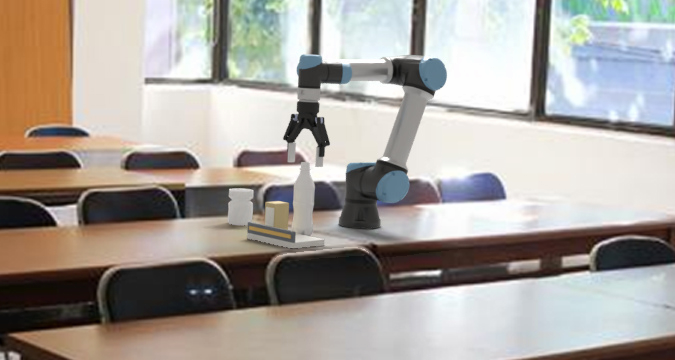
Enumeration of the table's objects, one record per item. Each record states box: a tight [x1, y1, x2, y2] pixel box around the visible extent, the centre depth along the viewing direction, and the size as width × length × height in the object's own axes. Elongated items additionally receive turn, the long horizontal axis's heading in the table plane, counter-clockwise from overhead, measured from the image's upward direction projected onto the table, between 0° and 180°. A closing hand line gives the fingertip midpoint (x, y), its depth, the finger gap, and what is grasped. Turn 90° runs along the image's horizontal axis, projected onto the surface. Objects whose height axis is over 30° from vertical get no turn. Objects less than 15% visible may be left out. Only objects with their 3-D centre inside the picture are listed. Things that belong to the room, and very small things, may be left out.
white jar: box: [227, 187, 255, 227], centre depth 454 cm, size 9×9×12 cm
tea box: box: [263, 200, 290, 230], centre depth 426 cm, size 6×5×10 cm
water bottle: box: [291, 161, 316, 236], centre depth 432 cm, size 7×7×25 cm
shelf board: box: [246, 221, 325, 249], centre depth 420 cm, size 14×22×6 cm, turn 45°
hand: (304, 164), depth 431 cm, fingers open, 13 cm apart
